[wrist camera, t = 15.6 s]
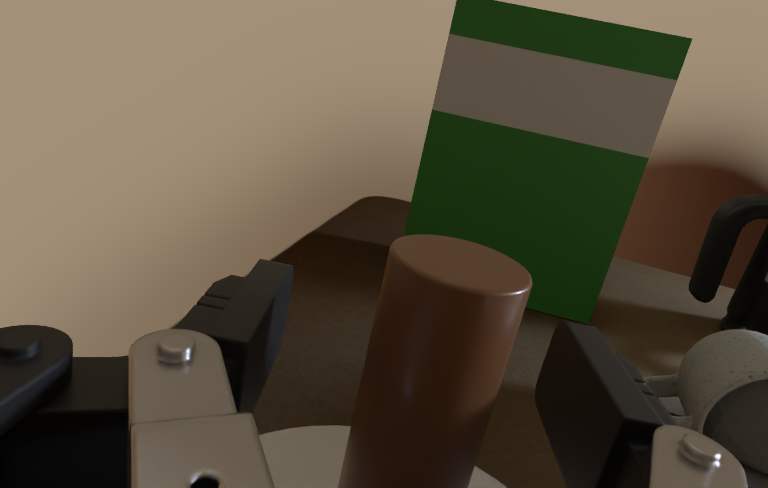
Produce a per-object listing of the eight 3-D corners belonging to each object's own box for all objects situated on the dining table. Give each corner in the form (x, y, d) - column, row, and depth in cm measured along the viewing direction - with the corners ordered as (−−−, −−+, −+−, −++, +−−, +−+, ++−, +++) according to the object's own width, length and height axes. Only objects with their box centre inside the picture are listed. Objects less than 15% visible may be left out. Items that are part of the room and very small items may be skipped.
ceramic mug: (772, 436, 36) (822, 334, 33) (829, 527, 28) (900, 405, 26) (607, 385, 38) (643, 287, 36) (620, 457, 31) (667, 339, 28)
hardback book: (576, 293, 54) (663, 44, 47) (588, 324, 48) (692, 38, 40) (408, 249, 57) (464, 5, 49) (395, 272, 50) (458, -7, 42)
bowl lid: (-55, 1424, 5) (-239, 842, 2) (102, 473, 15) (113, 140, 12) (774, 908, 9) (1125, 485, 6) (464, 441, 19) (540, 192, 16)
